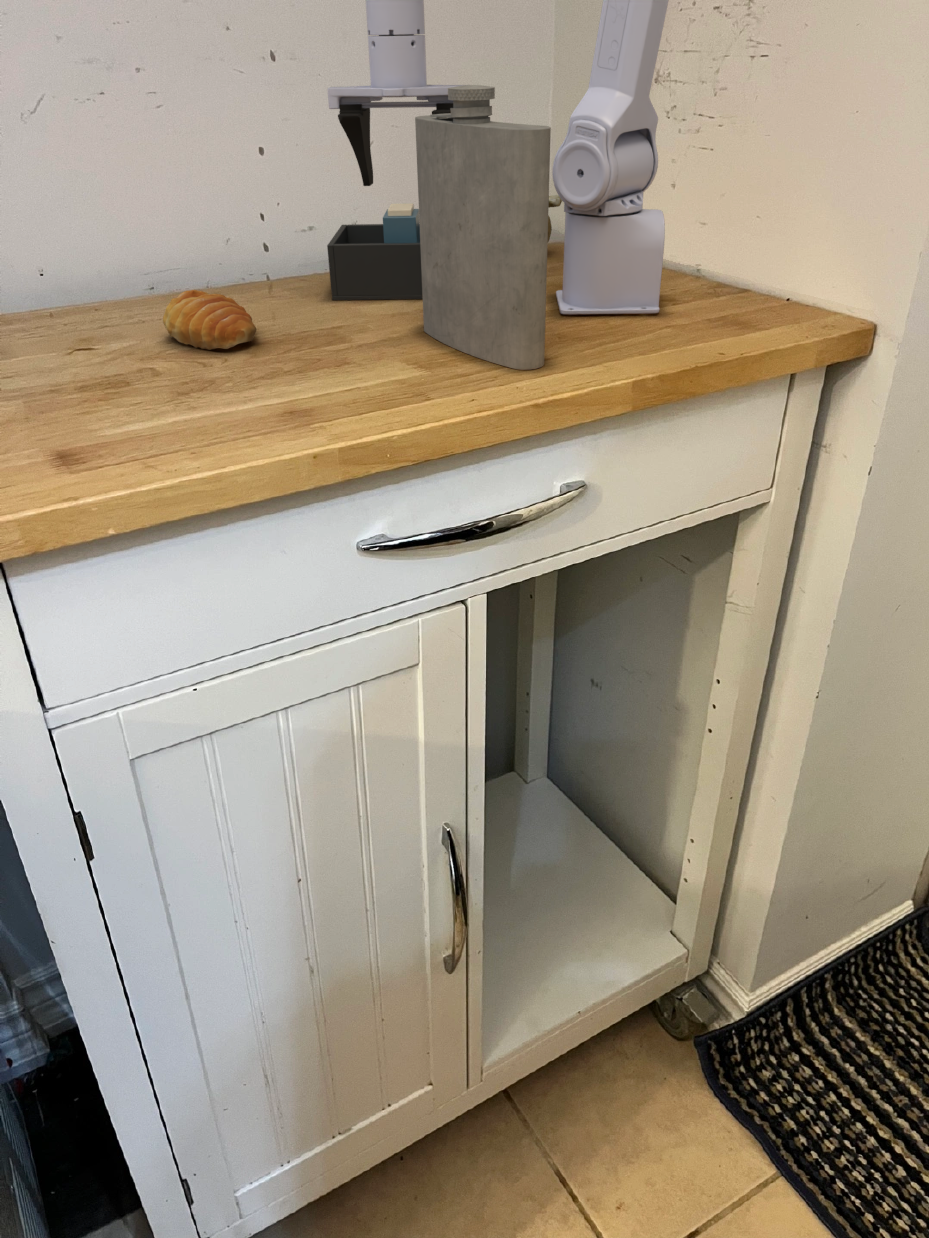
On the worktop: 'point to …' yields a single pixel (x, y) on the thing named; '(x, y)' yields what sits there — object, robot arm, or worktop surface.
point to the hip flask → (484, 230)
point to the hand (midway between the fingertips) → (403, 185)
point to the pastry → (208, 320)
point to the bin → (373, 265)
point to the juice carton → (401, 224)
